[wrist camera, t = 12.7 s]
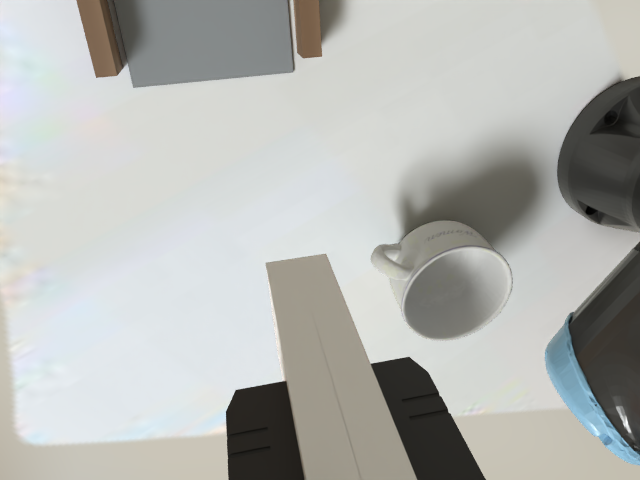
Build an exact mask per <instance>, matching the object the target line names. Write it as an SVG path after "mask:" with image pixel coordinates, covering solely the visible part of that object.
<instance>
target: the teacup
mask: <svg viewBox="0 0 640 480" xmlns="http://www.w3.org/2000/svg"><path fill="white" fill-rule="evenodd" d="M371 262H372V264H373V265H374V267H375V268H376V269H377V270H378V271H379V272H380V273H382V274H384V275H385V276H387V277H389V280H390V285H391V288H392V291H393V293H394V296H395V298H396V301H397V303H398V305H399V307H400V309H401V312H402V316H403V319H404V321H405V322H406V324H407V326H408V327H409V328H410V329H411V330H412V331H413V332H415V333H416V334H417V335H419V336H421V337H423V338H426V339H430V340H436V341H447V340H455V339H459V338H463V337H465V336H468V335H470V334H473V333H475V332H476V331H478V330H480V329H481V328H483V327H484V326H486V325H487V324H488V323H490V322H491V321H492V320H493V319H494V318H495V317H496V316H497V315H498V314H499V313H500V312H501V310H502V309H503V307H504V306H505V304H506V303H507V301H508V299H509V296H510V293H511V291H512V284H513V278H512V272H511V269H510V267H509V264H508V263H507V261H506V260H505V259H504V257H503V256H502V255H500V254H499V253H498V252H496V250H495V249H494V248H493V247H492V246H491V245H490V244H489V243H488V242H487V241H486V240H485V239H484V238H483V237H482V236H481V235H480V234H479V233H478V232H477V231H475V230H474V229H473V228H471V227H469V226H468V225H465V224H463V223H460V222H456V221H449V220H442V221H435V222H430V223H427V224H424V225H422V226H420V227H418V228H416V229H415V230H413V231H412V232H410V233H409V234H408V235H407V236H405V237H404V238H403V240H402V241H401V242H400V243H399V244H392V245H387V244H383V245H379V246H377V247H376V248H375V249H374V251H373V253H372V255H371Z"/></svg>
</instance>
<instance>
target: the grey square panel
mask: <svg viewBox="0 0 640 480" xmlns="http://www.w3.org/2000/svg"><path fill="white" fill-rule="evenodd" d="M114 3H115V8H116V12H117V17H118V21H119V26H120V30H121V35H122V39H123V44H124V48H125V53H126V57H127V62H128V66H129V71H130V75H131V79H132V84H133V88H136V87H146V86H157V85H167V84H177V83H188V82H198V81H208V80H219V79H229V78H239V77H249V76H260V75H270V74H280V73H291V72H293V62H292V50H291V38H290V25H289V13H288V0H114Z"/></svg>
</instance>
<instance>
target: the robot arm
mask: <svg viewBox="0 0 640 480" xmlns="http://www.w3.org/2000/svg"><path fill="white" fill-rule="evenodd" d="M557 176H558V184H559V188H560V191H561V193H562V196H563V198H564V199H565V201H566V202H567V203H568V205H569V206H570V207H571V208H572V209H574V210H575V211H576V212H578V213H579V214H581V215H582V216H584V217H585V218H587V219H588V220H590V221H592V222H594V223H597V224H600V225H603V226H608V227H613V228H618V229H623V230H629V231H634V232H639V233H640V77H635V78H631V79H628V80H625V81H622V82H620V83H618V84H616V85H614V86H612V87H610V88H609V89H607V90H606V91H604V92H603V93H601V94H600V95H599V96H598V97H596V98H595V99H594V100H593V101H592V102H591V103H590V104H589V105H588V106H587V107H586V108H585V109H584V110H583V111H582V112H581V114H580V115H579V116H578V117H577V119H576V120H575V122H574V123H573V125H572V126H571V128H570V130H569V132H568V133H567V135H566V138H565V140H564V142H563V145H562V148H561V151H560V155H559V160H558V169H557ZM266 270H267V277H268V285H269V292H270V299H271V307H272V314H273V322H274V329H275V336H276V344H277V351H278V357H279V362H280V368H281V373H282V379H283V382H278V383H272V384H267V385H261V386H256V387H250V388H245V389H239V390H236V391H235V393H234V395H233V398H232V400H231V402H230V404H229V406H228V409H227V411H226V425H227V449H228V475H229V480H486V479H485V478H484V476H483V474H482V472H481V470H480V468H479V467H478V465H477V463H476V461H475V459H474V457H473V455H472V453H471V452H470V450H469V448H468V446H467V444H466V442H465V440H464V438H463V437H462V435H461V433H460V431H459V429H458V427H457V425H456V424H455V422H454V420H453V418H452V416H451V414H450V413H448V409H447V407H446V405H445V403H444V401H443V399H442V397H441V396H439V392H438V390H437V388H436V386H435V384H434V382H433V381H432V379H431V377H430V375H429V373H428V372H427V371H426V370H425V369H423V368H422V367H421V366H420V365H418V364H417V363H416V362H415V361H414V360H412V359H411V358H410V357H406V358H400V359H395V360H389V361H384V362H378V363H373V364H370V362H369V359H368V357H367V354H366V352H365V349H364V347H363V344H362V342H361V339H360V337H359V334H358V332H357V329H356V327H355V324H354V322H353V319H352V317H351V314H350V312H349V309H348V307H347V305H346V302H345V300H344V297H343V295H342V292H341V290H340V287H339V285H338V282H337V280H336V277H335V275H334V272H333V270H332V267H331V265H330V262H329V260H328V257H327V255H326V254H321V255H314V256H308V257H301V258H295V259H288V260H282V261H275V262H268V263H266ZM545 361H546V369H547V372H548V374H549V377H550V379H551V381H552V383H553V385H554V387H555V388H556V390H557V392H558V393H559V395H560V396H561V398H562V399H563V401H564V402H565V404H566V405H567V406H568V408H569V409H570V410H571V411H572V413H573V414H574V415H575V416H576V417H577V419H579V421H580V422H581V423H582V424H583V425H584V427H585V428H586V429H587V430H588V431H589V432H590V433H591V434H592V435H594V436H597V437H599V438H600V440H601V441H602V443H603V444H604V445H605V447H607V448H608V449H609V450H610V451H611V452H613V453H614V454H615V455H617V456H618V457H619V458H621V459H623V460H624V461H626V462H628V463H630V464H634V465H640V242H639V243H638V244H637V245H636V246H635V247H634V248H633V249H632V250H631V251H630V253H629V254H628V255H627V256H626V257H625V258H624V259H623V260H622V261H621V262H620V263H619V264H618V265H617V266H616V268H615V269H614V270H613V271H612V272H611V273H610V274H609V275H608V276H607V277H606V278H605V279H604V280H603V282H602V283H601V284H600V285H599V286H598V287H597V288H596V289H595V290H594V291H593V292H592V293H591V294H590V296H589V297H588V298H587V299H586V300H585V301H584V302H583V303H582V304H581V305H580V306H579V307H578V308H577V310H576V311H575V312H572V313H570V314H569V315H568V316H567V318H566V320H565V324H564V325H563V326H562V328H561V329H560V330H559V331H558V332H557V334H556V335H555V336H554V337H553V338H552V340H551V341H550V342H549V344H548V345H547V348H546V351H545Z"/></svg>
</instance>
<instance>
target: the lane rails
mask: <svg viewBox="0 0 640 480" xmlns="http://www.w3.org/2000/svg"><path fill="white" fill-rule="evenodd" d="M293 1H294V14H295V27H296V40H297V53H298V54H299V55H300V56H301V57H302V58H312V57H322V48H321V29H320V11H319V0H293ZM77 4H78V8H79V12H80V16H81V20H82V24H83V28H84V32H85V36H86V40H87V44H88V48H89V52H90V55H91V59H92V63H93V67H94V71H95V75H96V78H98V77H108V76H117V75H118V74H119V73H120V72H121V70H122V69H123V67H122V63H121V58H120V54H119V50H118V45H117V41H116V36H115V32H114V28H113V23H112V19H111V15H110V10H109V6H108V2H107V0H77Z"/></svg>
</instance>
